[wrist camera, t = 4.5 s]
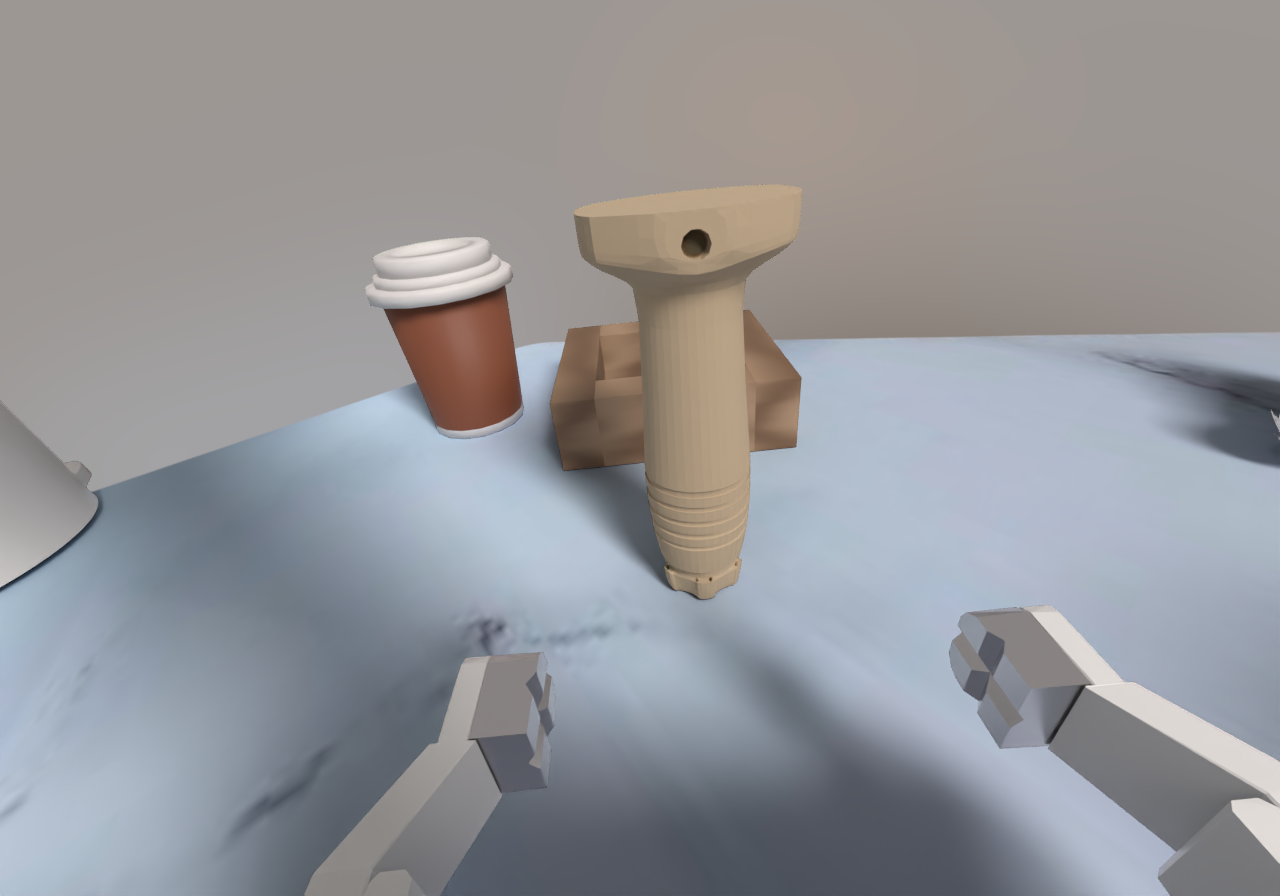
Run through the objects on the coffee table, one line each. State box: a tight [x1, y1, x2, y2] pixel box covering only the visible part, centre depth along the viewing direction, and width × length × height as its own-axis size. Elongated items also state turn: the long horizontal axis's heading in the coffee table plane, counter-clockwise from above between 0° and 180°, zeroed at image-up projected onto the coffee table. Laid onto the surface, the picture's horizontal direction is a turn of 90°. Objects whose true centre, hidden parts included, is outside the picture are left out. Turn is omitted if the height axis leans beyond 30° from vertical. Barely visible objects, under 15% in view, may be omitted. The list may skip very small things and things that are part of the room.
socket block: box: [550, 310, 801, 471], centre depth 35 cm, size 14×13×4 cm
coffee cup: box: [365, 237, 524, 439], centre depth 35 cm, size 9×9×12 cm
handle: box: [574, 185, 802, 599], centre depth 18 cm, size 5×6×15 cm
